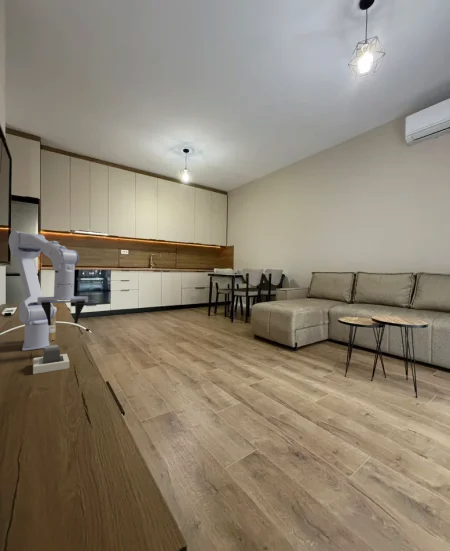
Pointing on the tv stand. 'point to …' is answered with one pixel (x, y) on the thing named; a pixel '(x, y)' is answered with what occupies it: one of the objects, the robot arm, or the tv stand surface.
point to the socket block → (50, 364)
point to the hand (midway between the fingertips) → (62, 323)
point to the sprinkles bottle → (52, 327)
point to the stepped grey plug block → (51, 354)
